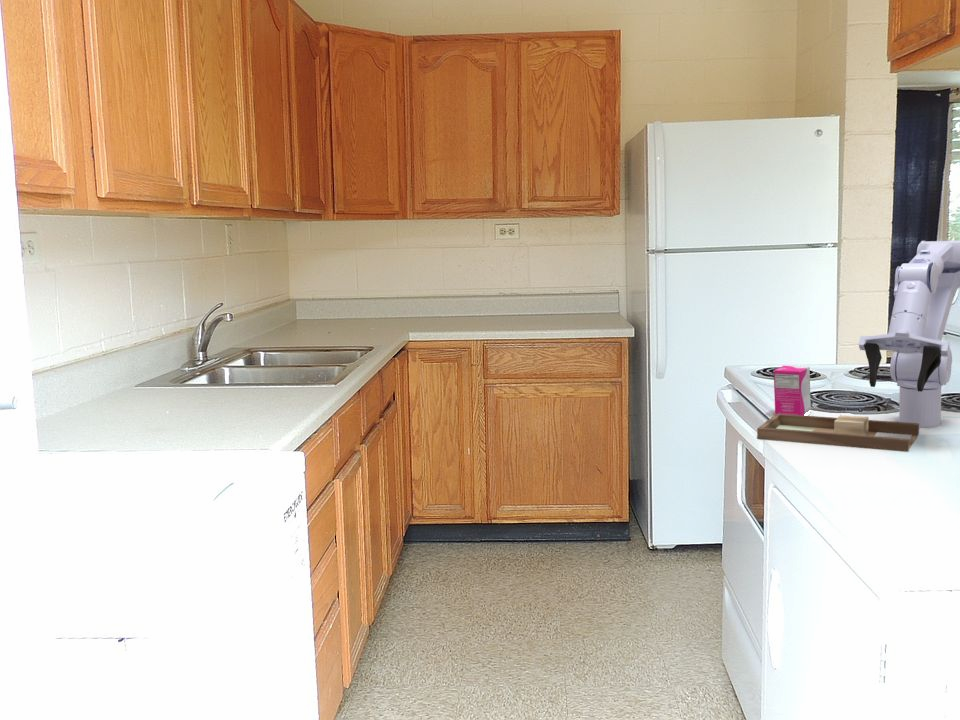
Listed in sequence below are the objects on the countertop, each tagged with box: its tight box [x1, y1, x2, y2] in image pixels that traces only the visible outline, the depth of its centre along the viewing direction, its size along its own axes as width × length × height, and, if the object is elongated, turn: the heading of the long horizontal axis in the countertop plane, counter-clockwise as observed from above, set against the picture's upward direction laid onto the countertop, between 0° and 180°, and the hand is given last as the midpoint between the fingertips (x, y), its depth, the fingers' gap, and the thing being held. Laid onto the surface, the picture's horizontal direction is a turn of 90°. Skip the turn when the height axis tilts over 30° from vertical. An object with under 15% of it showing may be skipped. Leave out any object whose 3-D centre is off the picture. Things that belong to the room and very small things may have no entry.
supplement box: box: [773, 365, 812, 415], centre depth 185 cm, size 6×6×12 cm
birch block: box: [834, 414, 870, 436], centre depth 165 cm, size 5×5×4 cm
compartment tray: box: [756, 413, 920, 452], centre depth 167 cm, size 13×26×4 cm, turn 56°
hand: (895, 386), depth 156 cm, fingers open, 7 cm apart
